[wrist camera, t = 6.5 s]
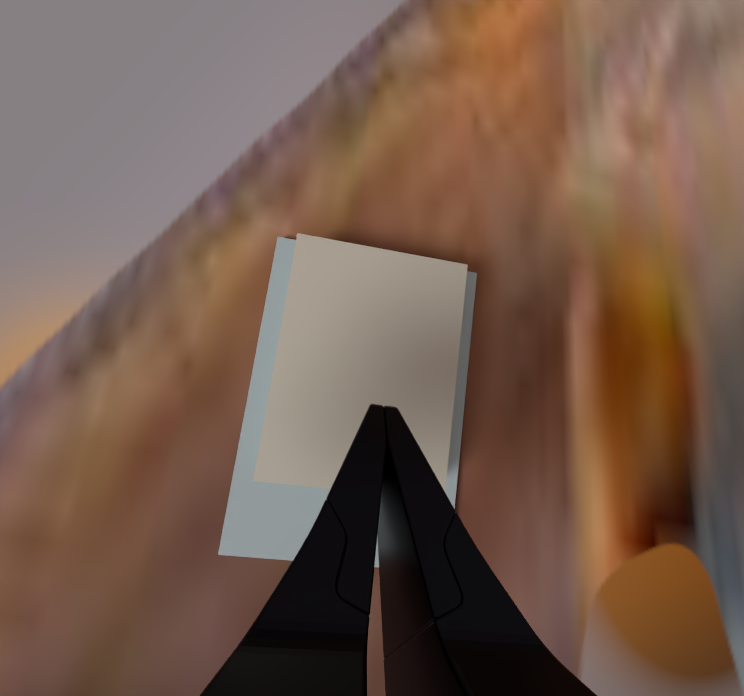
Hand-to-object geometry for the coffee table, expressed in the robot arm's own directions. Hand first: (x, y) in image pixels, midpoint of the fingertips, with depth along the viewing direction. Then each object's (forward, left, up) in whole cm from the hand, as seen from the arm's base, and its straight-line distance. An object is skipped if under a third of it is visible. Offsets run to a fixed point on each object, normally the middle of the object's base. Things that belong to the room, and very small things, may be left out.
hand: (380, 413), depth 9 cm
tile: (-3, +3, -7) cm, 8 cm away
